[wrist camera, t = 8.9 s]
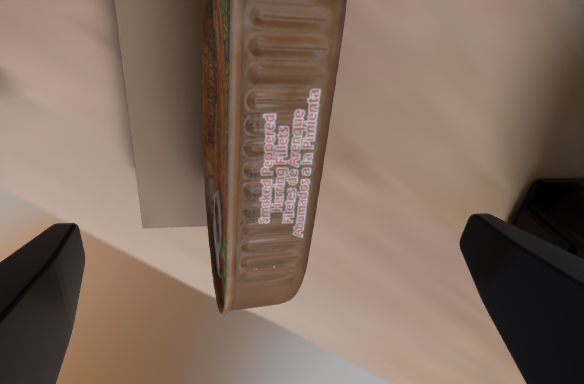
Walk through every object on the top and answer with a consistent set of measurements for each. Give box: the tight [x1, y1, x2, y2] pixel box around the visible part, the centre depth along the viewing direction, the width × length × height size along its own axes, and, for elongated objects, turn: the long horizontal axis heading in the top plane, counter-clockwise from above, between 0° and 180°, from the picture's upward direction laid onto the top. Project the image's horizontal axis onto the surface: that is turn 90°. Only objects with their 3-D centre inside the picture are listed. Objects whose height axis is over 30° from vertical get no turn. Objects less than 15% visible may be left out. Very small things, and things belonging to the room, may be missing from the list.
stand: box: [115, 0, 207, 228], centre depth 18 cm, size 8×17×3 cm, turn 175°
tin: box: [200, 0, 347, 315], centre depth 14 cm, size 15×3×8 cm, turn 175°
